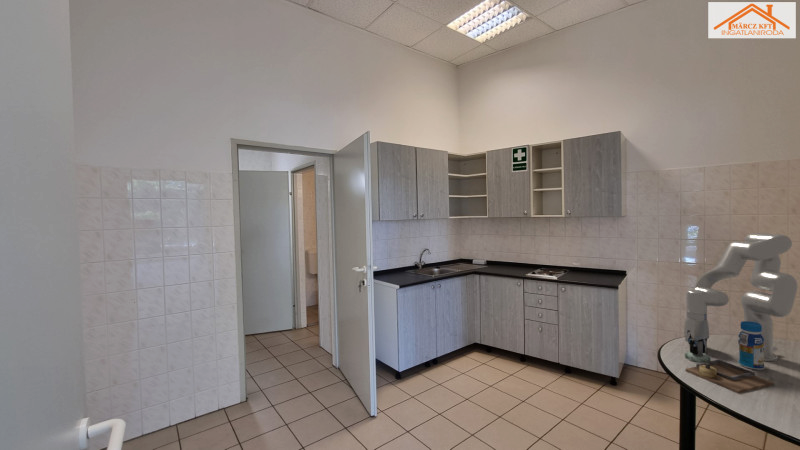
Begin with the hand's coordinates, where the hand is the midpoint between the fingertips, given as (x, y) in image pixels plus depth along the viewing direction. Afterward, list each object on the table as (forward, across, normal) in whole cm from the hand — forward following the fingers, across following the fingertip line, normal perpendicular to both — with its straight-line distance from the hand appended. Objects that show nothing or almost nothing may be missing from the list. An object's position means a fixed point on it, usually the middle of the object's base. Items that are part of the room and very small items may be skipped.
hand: (697, 352), depth 166 cm
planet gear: (+3, 0, 0) cm, 3 cm away
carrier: (+3, +7, +17) cm, 19 cm away
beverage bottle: (+4, -14, +13) cm, 19 cm away
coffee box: (+4, -13, -9) cm, 16 cm away
